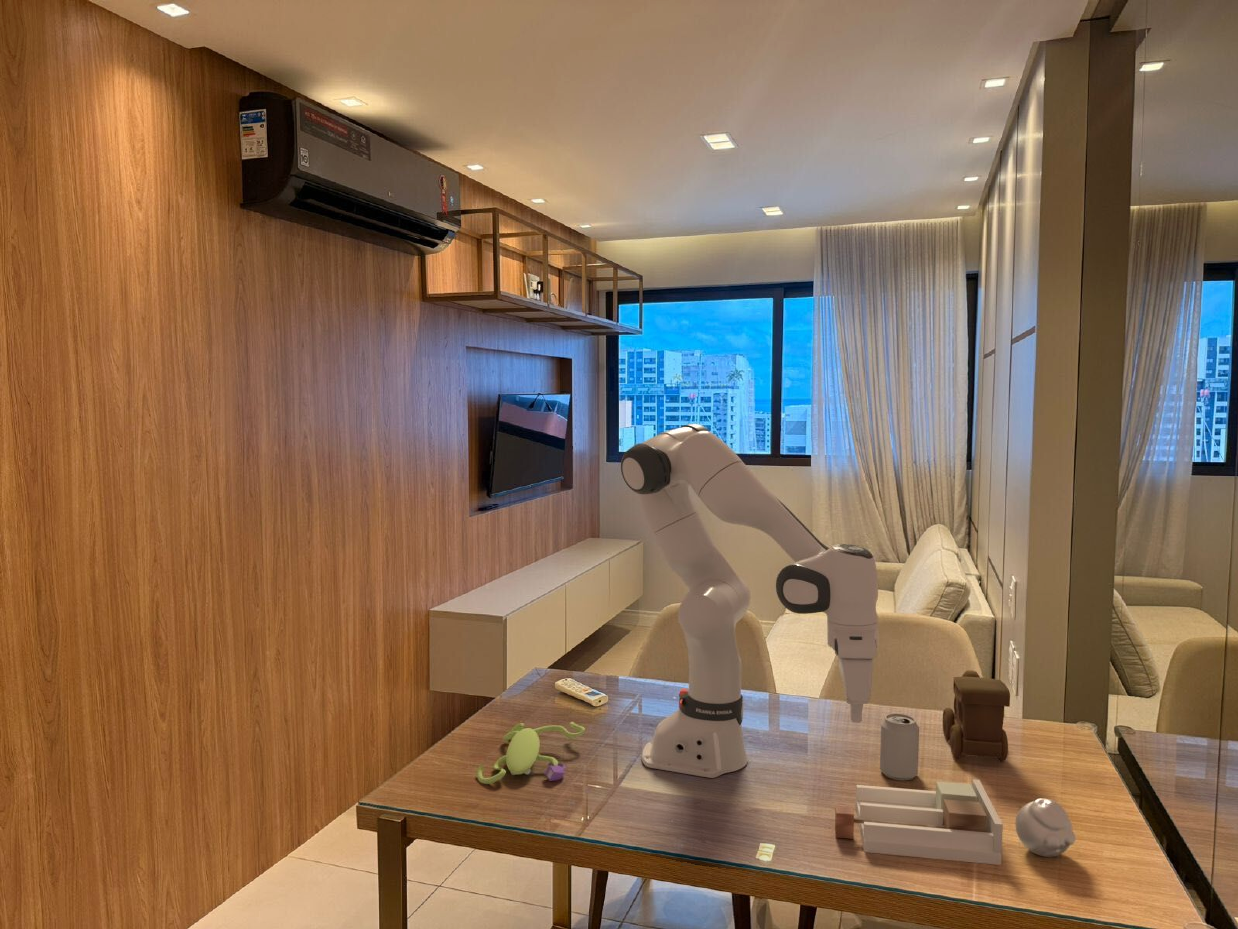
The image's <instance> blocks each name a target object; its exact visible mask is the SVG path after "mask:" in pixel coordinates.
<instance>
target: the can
mask: <svg viewBox="0 0 1238 929" xmlns="http://www.w3.org/2000/svg"><path fill="white" fill-rule="evenodd" d="M919 744H920V726H919V725H918V724H917V719H916V718H915V717H914V716H911V715H909V714H906V713H898V712H893V713H892V712H891V713H887V714H886V715H885V716H884V719H883V720H882V721H881V724H880V755H879V769H880V771H881V772H882V773H883V774H884V775H885V776H886V777H888V778H889V779H893V780H895V781H910V780H913V779H914V777H916V776H918V772H919V751H920V750H919Z"/></svg>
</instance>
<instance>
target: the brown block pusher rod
mask: <svg viewBox="0 0 1238 929" xmlns="http://www.w3.org/2000/svg"><path fill="white" fill-rule="evenodd" d="M834 810H835V811H834V814H835V816H834V818H835V819H834V832H835V834H834V835H835V838H840V839H841V838H842V839H853V840H854V831H855V830H854V829H855V828H854V826H855V824H859V823H863V824H864V822H874V823H885V824H897V825H908V826H919V827H931V828H942V829H953V830H964V831H976V832H986V817H987V816H986V814H985V812H984V810H983V808H982V806H981V804H980V802H971V801H959V800H947V799H944V802H943V826H934V825H922V824H911V823H900V822H888V821H877V820H866V819H858V818H855V813H854V807H848V806H847V807H845V806H835V808H834Z"/></svg>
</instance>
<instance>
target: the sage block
mask: <svg viewBox="0 0 1238 929" xmlns="http://www.w3.org/2000/svg"><path fill="white" fill-rule="evenodd" d="M935 791H936V803H935V808H936V809H943V802H944V799H947V800H959V801H971V802H977V796H976V794H975V792H974V790H973V788H972V784H971V783H961V782H950V781H949V782H948V781H935Z"/></svg>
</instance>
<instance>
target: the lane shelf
mask: <svg viewBox="0 0 1238 929" xmlns="http://www.w3.org/2000/svg"><path fill="white" fill-rule="evenodd" d="M971 781H972V782H971V783H972V784H971V786H972V788H973V790H974V792H975V794H976V796H977V802H980V804H981V806H982V808H983V810H984V812H985V814H986V816H987V817H986V832H976V831H964V830H953V829H942V828H931V827H919V826H908V825H897V824H885V823H874V822H864V824H863V823H858V825H859V826H858V827H859V830H860V831H859V832H860V836H861V841H862V847H863V852H864V853H870V854H879V855H880V854H881V855H892V856H902V857H910V858H911V857H913V858H923V859H924V858H925V859H932V860H933V859H934V860H942V861H943V860H944V861H954V862H955V861H957V862H966V863H975V864H986V865H997V866H1002V856H1003V853H1002V852H1003V826H1004V825H1003V823H1002V820H1001V818H1000V816H999V815H998V813H997V811H996V809H995V807H994V805H993V803H992V801H991V800H990V798H989V796H988V794H987V792H986V790H985V788H984V786H983V785H982V782H981V779H975V778H974V779H973V778H972V779H971ZM855 786H856V788H855V789H856V790H855V791H856V792H855V810H856V815H857V819H866V820H877V821H888V822H900V823H911V824H922V825H934V826H943V809H936V808H935V803H936V790H927V789H926V790H925V789H924V790H923V789H911V788H902V787H901V788H899V787H891V786H889V787H888V786H877V785H876V786H874V785H863V784H856V785H855Z"/></svg>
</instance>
